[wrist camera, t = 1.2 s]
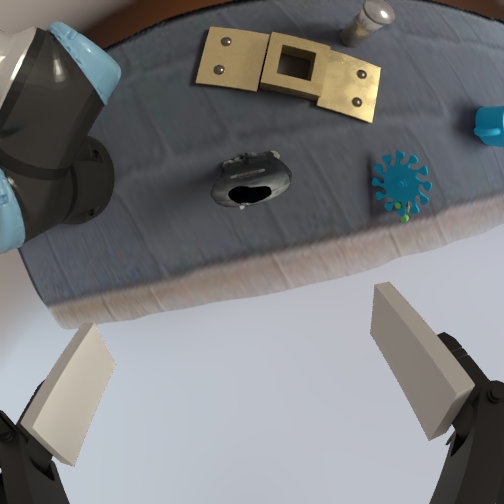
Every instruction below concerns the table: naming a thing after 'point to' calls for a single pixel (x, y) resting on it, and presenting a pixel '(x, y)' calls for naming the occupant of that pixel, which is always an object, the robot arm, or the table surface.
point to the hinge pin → (367, 22)
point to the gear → (401, 185)
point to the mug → (490, 125)
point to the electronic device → (251, 180)
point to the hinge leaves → (314, 88)
